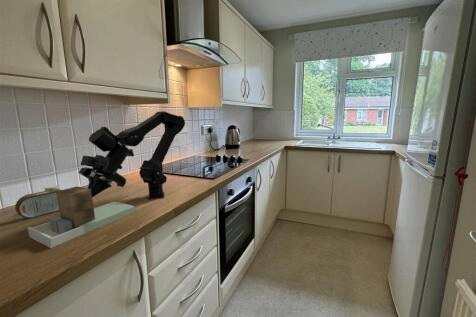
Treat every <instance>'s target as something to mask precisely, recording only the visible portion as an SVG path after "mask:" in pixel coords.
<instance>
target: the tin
mask: <svg viewBox="0 0 476 317" xmlns="http://www.w3.org/2000/svg"><path fill="white" fill-rule="evenodd" d="M61 190H62V189H60V188H58V189H52V190H48V191H45V190H43V191H37V192H33V193H27V194H24V195H23V196H21V197H20V198H18V200H16V203H15V205H14V208H15V212H16V213H17V214H18V215H19V216H20V217H22V218H24V219H34V218H38V217H42V216H46V215H50V214H54V213H58V212H60V211H59V206H58V200H57V194H56V192H57V191H61Z"/></svg>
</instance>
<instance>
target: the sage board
mask: <svg viewBox="0 0 476 317" xmlns="http://www.w3.org/2000/svg"><path fill="white" fill-rule="evenodd" d="M135 212H136V206H135V205H131V204H127V203H123V202H119V201H116V200H115V201H112V202H109V203H106V204H103V205H100V206H97V207H94V214H95V220H93V221H90V222H88V223H85V224H83V225H80V226H84V233H85V234H86V233H88V232H91V231H93V230H95V229H98V228H99V227H102V226H105V225H107V224H110V223H111V222H115V221H116V220H118V219H121V218H123V217H126V216H128V215H130V214H133V213H135ZM80 226H77V227H73V226H72V228H73V229H75V228H78V227H80Z"/></svg>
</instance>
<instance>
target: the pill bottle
mask: <svg viewBox="0 0 476 317" xmlns="http://www.w3.org/2000/svg"><path fill="white" fill-rule="evenodd" d="M52 189H59V186H58V185H57V184H52V185H46V186H45V187H44V191H48V190H52Z"/></svg>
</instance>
